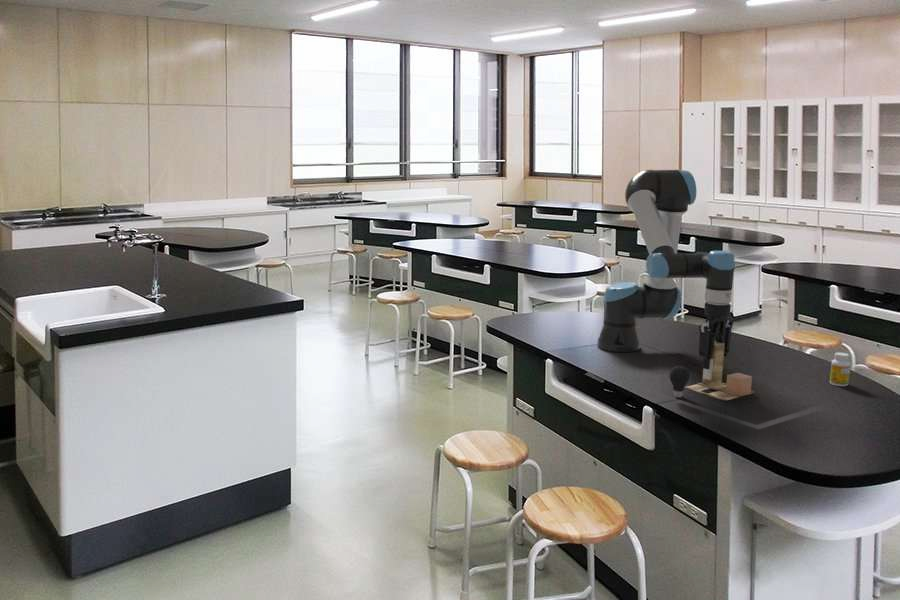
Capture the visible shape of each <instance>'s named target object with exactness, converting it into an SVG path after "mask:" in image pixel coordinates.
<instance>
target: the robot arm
mask: <svg viewBox="0 0 900 600" xmlns="http://www.w3.org/2000/svg"><path fill="white" fill-rule="evenodd" d="M624 196H625V197H624V198H625V202H626V206H627V207H628V209H629V211H631V212H632V213H633V214H634V218H635V220H636V223H637V225H638V228H639V231H640V233H641V236H642V239H643V241H644V244H645V246H646V250H647V252H648V254H649V255H648V256H647V258H646V261H645V268H646V273H647V275H648V277H646V278H644V279H643V286H640V285H639V284H638V283H637V282H632V281H631V282H627V281H626V282H625V281H624V282H623V281H622V282H616V283H612V284H609V285H607V287H606V288H605V291H604V297H603V300H604V306H603V307H604V308H603V322H602V323H603V325H602V328H601V331H600V333H599V337H598V338H597V347H598V348H599V349H601V350H604V351H607V352H613V353H614V352H616V353H631V352H637V351H640V349H641V341H640V340H639V333H638V330H637V320H652V319H653V320H654V319H655V320H657V319H658V320H665V319H672V318H674V317H676V315H677V314H678V312H679V311H680V308H681V305H682V297H681V296H682V290H681V289H680V288H679V287H678V284H677V282H676V281H675V279H698V278H699V279H700V278H701V279H706V280H705V281H706V284H705V293H704V294H705V295H704V300H705V303H704V310H703V311H704V313H703V314H704V315H705V316H706V319H705V322H704V324H703V325H702V324H699V325H698V329H699V343H698V345H699V346H698V357H701V358H703V364H702V368H704V369H702V379H703V378H705V379H708V380H712V370H713V359H712V353H713V348H714V343H715V341H716V342H720V343H725V345H724V357H727V356H728V353H730V346H731V336H732V329H733V325H734V322H733V321H732V320H728V318H729V317H730V316H731V309H732V304H730V303H732V297H733V296H732V292H733V284H734V283H733V282H734V275H735V274H734V273H735V266H736V265H735V264H736V263H735V254H734V252H732V251H727V250H711V251H709V252H707V251H697V252H695V253H678V247H679V240H680V234H681V225H682V219H683V215H684V214H686V213H687V212H688V207H689V206H691V205H693V204H694V203H695V201H696V198H697V183H696V181H695V178H694V175H693V173H691V172H690V171H688V170H683V169H646V170H642V171H639V172H638V173H636V174H635V175H634V176H632V178H631V179H630V180H629V182H628V183H627V185H626V188H625V194H624ZM724 357H723V360H724Z"/></svg>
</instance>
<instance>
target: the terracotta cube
mask: <svg viewBox="0 0 900 600" xmlns="http://www.w3.org/2000/svg"><path fill="white" fill-rule="evenodd" d="M752 381H753V376H751V375H748V374H744V373H740V372H734V373H730V374H727V375H726V391H727V392H730V393H734V394H737V395H740V396H741V395H745V394H748V393H751V391H752ZM748 395H749V394H748ZM745 396H746V395H745ZM741 397H742V396H741Z"/></svg>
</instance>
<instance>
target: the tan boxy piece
mask: <svg viewBox="0 0 900 600" xmlns="http://www.w3.org/2000/svg"><path fill="white" fill-rule="evenodd" d="M724 345H725V343H720V342H716V340H715V343H714V348H713V353H712V359H713V370H712V380H708V379H705V378H703V377H702V382H700V383H701V384H704V385H707V386H711V387H714V388H717V389H721V390H724V391H726V385H723V384H721V383H723V382H722V381H723V370H724V369H723V368H724V359H723V357H725V356H724ZM702 368H703V367H702ZM703 369H704V368H703ZM703 369H702V370H703ZM752 394H753V393H748V394H745V395H741V397H744V396H748V395H752Z"/></svg>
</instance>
